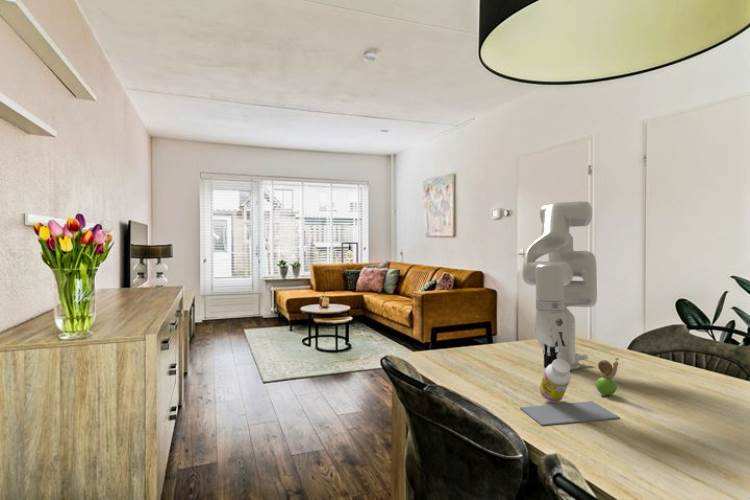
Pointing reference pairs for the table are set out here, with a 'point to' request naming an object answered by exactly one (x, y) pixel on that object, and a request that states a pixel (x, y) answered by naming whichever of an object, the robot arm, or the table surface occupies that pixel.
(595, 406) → the mat
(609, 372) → the snail figurine
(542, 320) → the robot arm
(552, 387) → the supplement bottle
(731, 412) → the table surface
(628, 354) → the table surface
